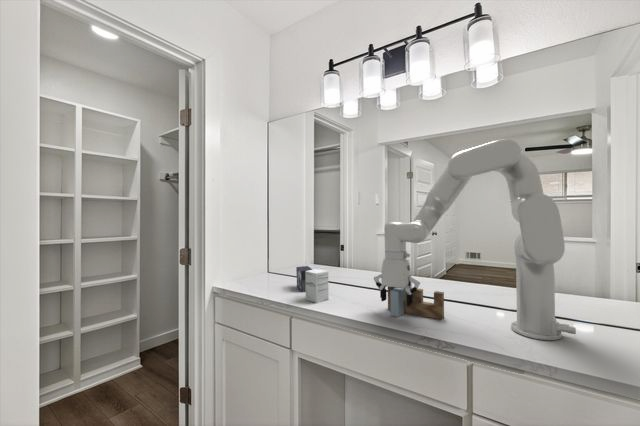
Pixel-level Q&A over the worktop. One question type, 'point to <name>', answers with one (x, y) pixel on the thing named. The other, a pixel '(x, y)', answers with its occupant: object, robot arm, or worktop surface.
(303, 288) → the small box
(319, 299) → the supplement box
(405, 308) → the notched board
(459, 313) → the worktop surface
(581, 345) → the worktop surface
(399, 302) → the crosspiece
